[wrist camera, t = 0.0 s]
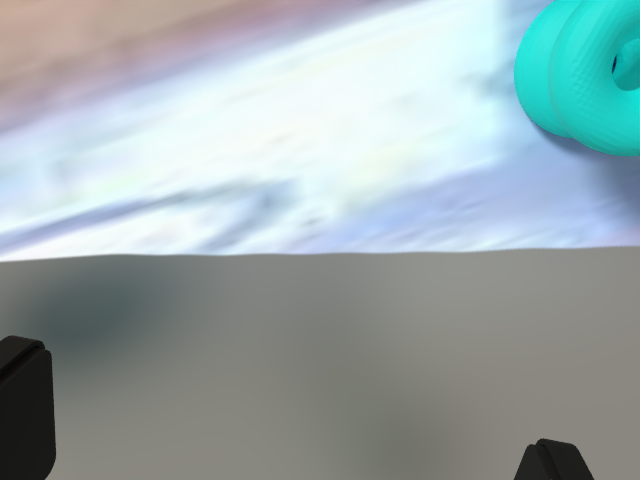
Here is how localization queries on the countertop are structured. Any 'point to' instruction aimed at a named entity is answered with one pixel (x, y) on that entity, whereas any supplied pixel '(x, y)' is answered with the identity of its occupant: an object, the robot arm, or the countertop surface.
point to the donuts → (584, 73)
